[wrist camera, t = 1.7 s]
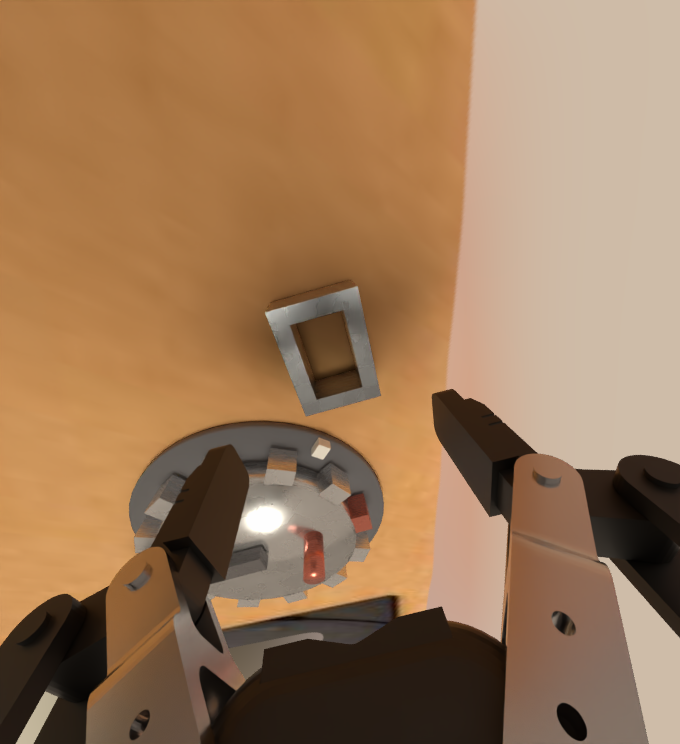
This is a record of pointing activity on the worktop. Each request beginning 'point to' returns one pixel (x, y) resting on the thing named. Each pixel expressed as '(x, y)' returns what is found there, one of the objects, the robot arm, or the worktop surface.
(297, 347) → the chain link
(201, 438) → the sprocket base
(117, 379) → the worktop surface
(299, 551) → the sprocket
